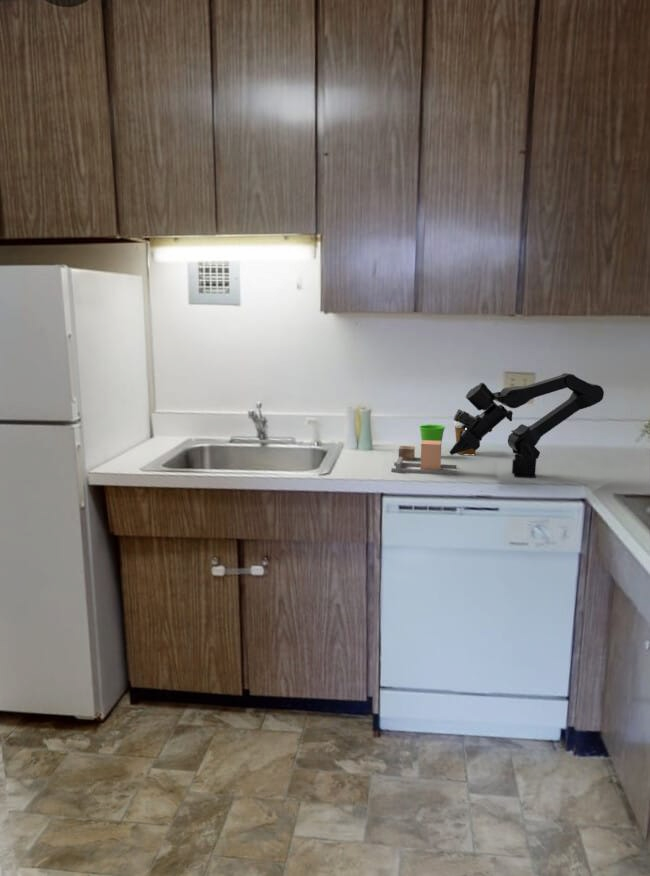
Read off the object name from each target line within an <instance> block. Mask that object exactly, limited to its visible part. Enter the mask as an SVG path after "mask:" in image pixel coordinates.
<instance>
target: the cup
mask: <svg viewBox="0 0 650 876" xmlns="http://www.w3.org/2000/svg"><path fill="white" fill-rule="evenodd" d="M418 428H419V430H420V437H421V438H420V440H421V441H422V440H430V441H441V444H442V442H443V437H444V431H445V429H446V427H445V425H440V424H421V425H419V427H418Z"/></svg>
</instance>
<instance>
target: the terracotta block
mask: <svg viewBox="0 0 650 876" xmlns="http://www.w3.org/2000/svg"><path fill="white" fill-rule="evenodd" d="M441 461H442V443H441V441H430V440H422V439H421V443H420V463H421V467H420V469H423V470H442V468H441V464H442V462H441Z"/></svg>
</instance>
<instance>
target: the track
mask: <svg viewBox="0 0 650 876" xmlns="http://www.w3.org/2000/svg"><path fill="white" fill-rule="evenodd" d="M393 465H394V466H395V467H391V469H390V471H391V473H408V474H409V473H410V474H427V475H428V474H431V475H449V476H450V475H451V476H452V475H453V476H456V475H457V470H455V469H457V468H458V467H457V464H447V463H446V464H444V463H441V469H440V470H423V469H421V462H404V460H403V457H399V456H398V458H397V461H395V462H393ZM403 467H408V468H403ZM411 467H413V468H411ZM414 467H415V468H414ZM416 468H417V469H416ZM419 468H420V469H419ZM442 469H443V470H442ZM444 469H454V470H444Z"/></svg>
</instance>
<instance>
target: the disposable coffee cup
mask: <svg viewBox="0 0 650 876" xmlns="http://www.w3.org/2000/svg"><path fill="white" fill-rule="evenodd" d="M462 425H463V424H462V423H460V422H457V421H455V420H454V423H453V426H454V429H455V430H454V432H455V443H456V442H457V441H458V440H459V438H460V430H461V431H462V432H463V431H464V430H465V429H464V428H463V429H462V428H461V426H462ZM460 454H474V455H475V454H476V451H475V450H473V448H471V449H468V450H465V451H462V452H459V454H458V455H460Z"/></svg>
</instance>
